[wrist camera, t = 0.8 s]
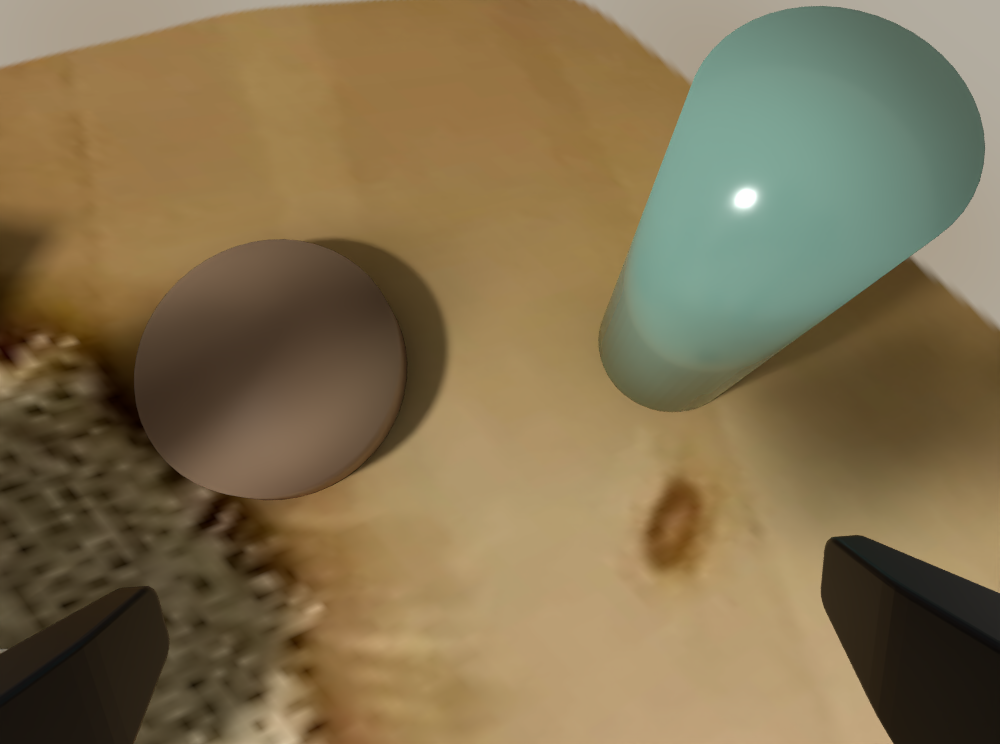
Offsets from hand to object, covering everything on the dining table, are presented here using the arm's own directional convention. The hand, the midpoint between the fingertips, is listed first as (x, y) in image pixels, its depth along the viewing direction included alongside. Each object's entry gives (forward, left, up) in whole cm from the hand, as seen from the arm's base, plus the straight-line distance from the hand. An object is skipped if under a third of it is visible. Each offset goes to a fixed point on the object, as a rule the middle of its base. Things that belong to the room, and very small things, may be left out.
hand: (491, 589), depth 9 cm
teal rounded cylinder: (+3, -9, -13) cm, 16 cm away
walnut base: (+10, +3, -13) cm, 17 cm away
